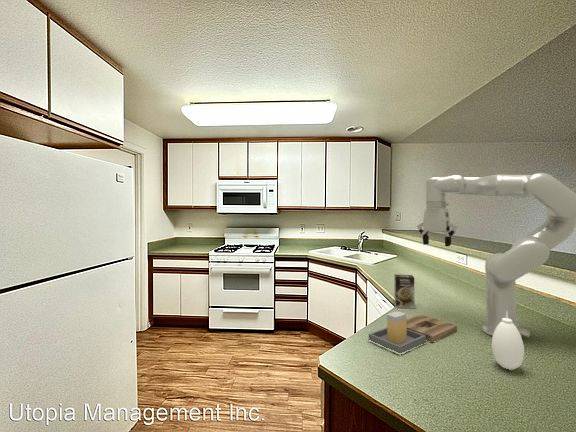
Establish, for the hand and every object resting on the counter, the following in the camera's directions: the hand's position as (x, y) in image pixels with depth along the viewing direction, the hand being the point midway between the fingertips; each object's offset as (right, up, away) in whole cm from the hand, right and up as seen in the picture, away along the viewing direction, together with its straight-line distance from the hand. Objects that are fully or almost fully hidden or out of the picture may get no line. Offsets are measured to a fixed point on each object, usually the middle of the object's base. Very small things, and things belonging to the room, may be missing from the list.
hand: (436, 245), depth 126 cm
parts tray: (-24, -35, -17) cm, 46 cm away
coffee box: (-4, -34, +24) cm, 42 cm away
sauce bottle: (+3, -35, -36) cm, 50 cm away
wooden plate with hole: (-8, -35, -7) cm, 36 cm away
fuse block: (-24, -34, -17) cm, 45 cm away
